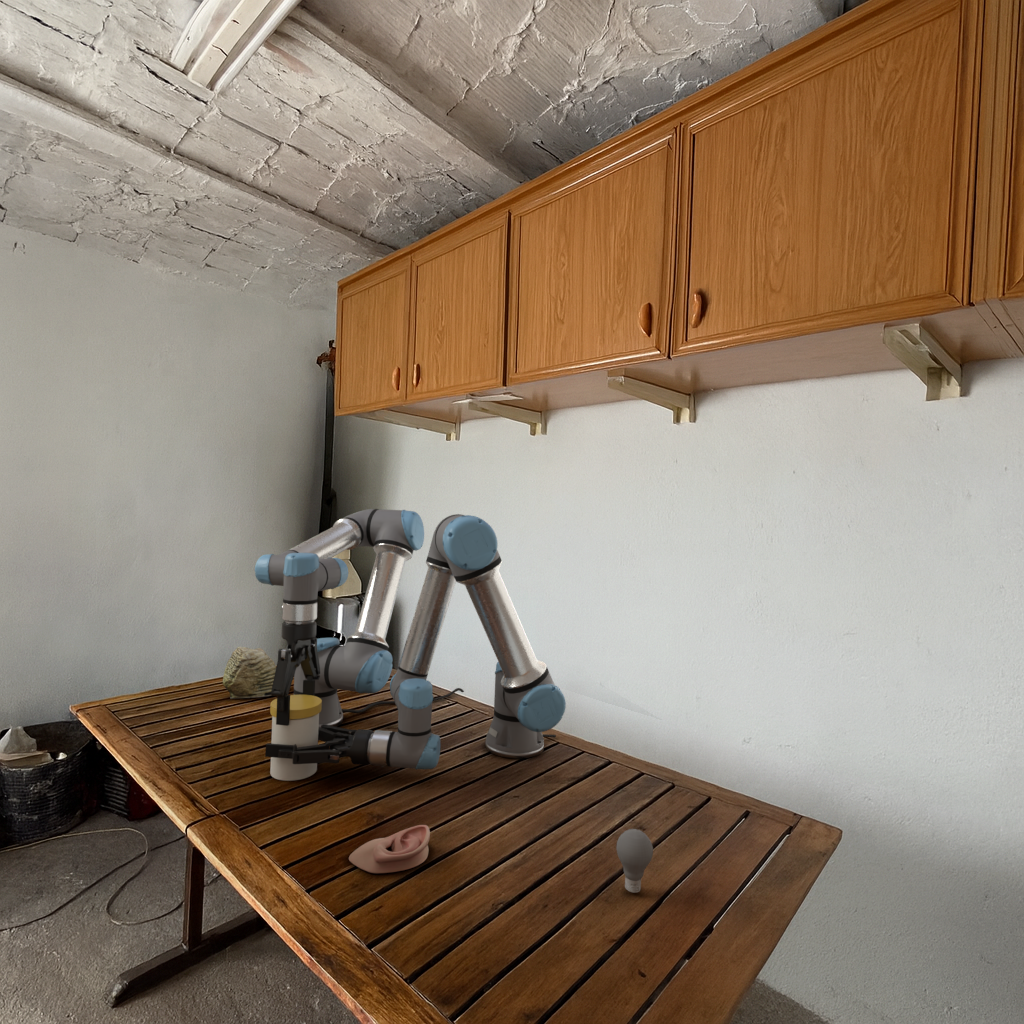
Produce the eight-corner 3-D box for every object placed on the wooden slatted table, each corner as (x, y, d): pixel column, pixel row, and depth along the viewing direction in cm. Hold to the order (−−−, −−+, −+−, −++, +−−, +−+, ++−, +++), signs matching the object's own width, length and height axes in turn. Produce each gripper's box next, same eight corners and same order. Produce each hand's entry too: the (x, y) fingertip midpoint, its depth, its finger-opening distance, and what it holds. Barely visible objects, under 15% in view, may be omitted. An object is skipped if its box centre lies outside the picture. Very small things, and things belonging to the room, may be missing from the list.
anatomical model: (341, 845, 108) (369, 813, 120) (340, 868, 108) (368, 833, 120) (414, 857, 106) (436, 823, 117) (413, 880, 106) (435, 844, 117)
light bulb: (610, 879, 108) (613, 822, 108) (644, 879, 109) (647, 822, 109) (619, 902, 102) (622, 840, 102) (655, 901, 103) (658, 840, 103)
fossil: (218, 695, 195) (220, 647, 195) (278, 685, 208) (279, 640, 207) (228, 703, 189) (230, 653, 188) (289, 692, 201) (290, 645, 201)
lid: (283, 701, 151) (283, 693, 151) (328, 704, 150) (329, 696, 150) (261, 717, 140) (261, 708, 140) (310, 721, 139) (310, 711, 139)
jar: (321, 762, 151) (323, 697, 151) (311, 781, 141) (313, 712, 141) (277, 761, 150) (280, 697, 150) (264, 780, 140) (266, 711, 140)
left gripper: (308, 611, 157) (305, 698, 158) (255, 629, 134) (251, 732, 134) (337, 613, 156) (333, 701, 156) (288, 632, 133) (284, 735, 133)
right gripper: (355, 786, 133) (252, 778, 134) (384, 744, 156) (296, 738, 157) (356, 750, 133) (254, 743, 134) (385, 714, 155) (297, 708, 157)
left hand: (295, 715), depth 145 cm, fingers closed on lid, 11 cm apart
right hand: (277, 740), depth 146 cm, fingers closed on jar, 10 cm apart
